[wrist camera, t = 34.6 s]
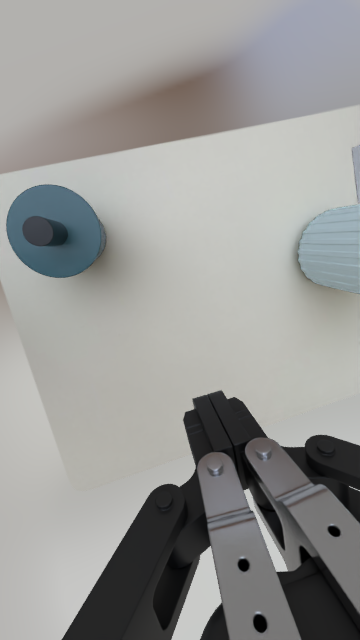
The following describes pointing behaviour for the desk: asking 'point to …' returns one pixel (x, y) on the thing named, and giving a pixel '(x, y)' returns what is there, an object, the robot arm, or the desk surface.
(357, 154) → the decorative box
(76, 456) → the desk surface
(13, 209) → the lid
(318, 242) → the vase
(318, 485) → the robot arm
